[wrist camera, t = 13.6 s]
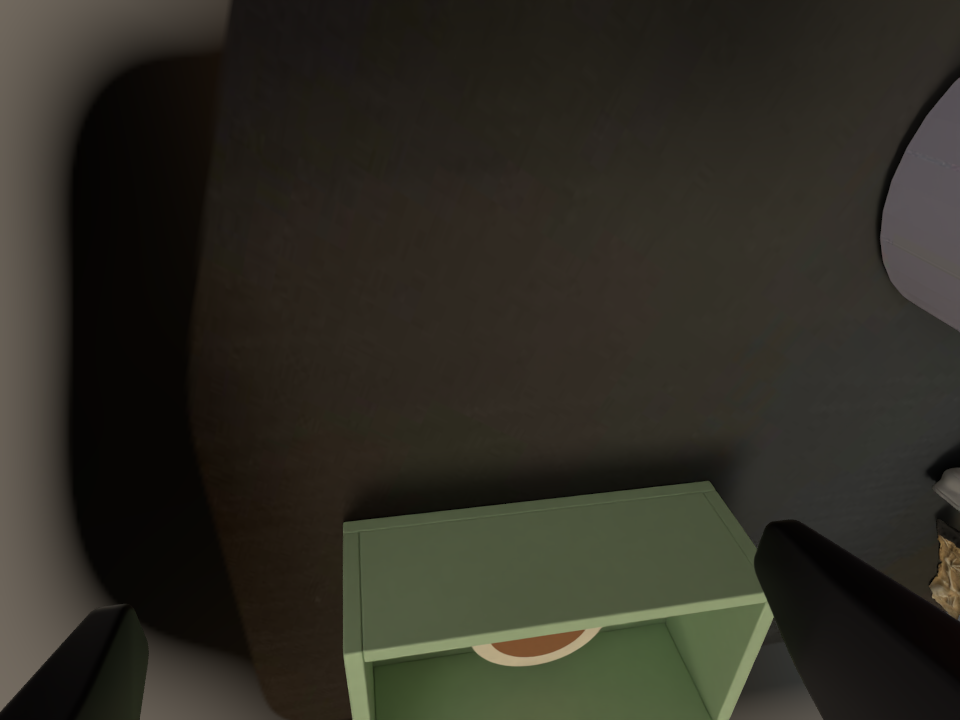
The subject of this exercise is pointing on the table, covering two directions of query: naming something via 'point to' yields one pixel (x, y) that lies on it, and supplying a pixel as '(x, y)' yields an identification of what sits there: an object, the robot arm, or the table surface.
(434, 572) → the tub
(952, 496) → the figurine
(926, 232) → the container
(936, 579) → the fossil
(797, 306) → the table surface
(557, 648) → the brown-topped cream cylinder
